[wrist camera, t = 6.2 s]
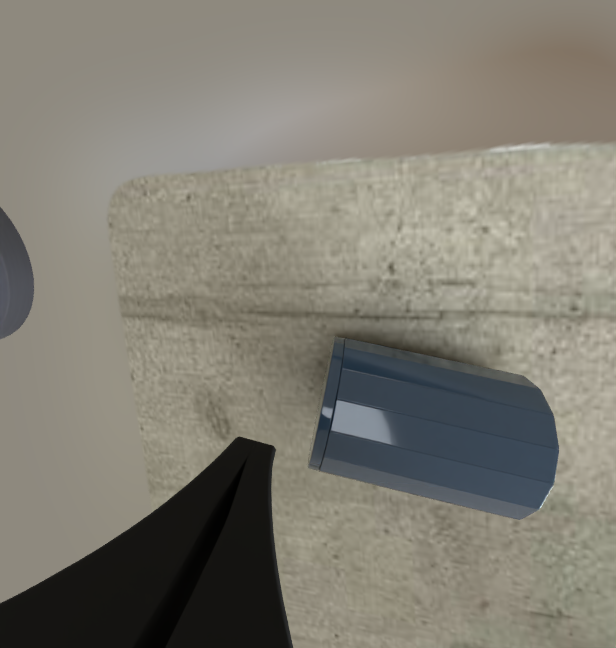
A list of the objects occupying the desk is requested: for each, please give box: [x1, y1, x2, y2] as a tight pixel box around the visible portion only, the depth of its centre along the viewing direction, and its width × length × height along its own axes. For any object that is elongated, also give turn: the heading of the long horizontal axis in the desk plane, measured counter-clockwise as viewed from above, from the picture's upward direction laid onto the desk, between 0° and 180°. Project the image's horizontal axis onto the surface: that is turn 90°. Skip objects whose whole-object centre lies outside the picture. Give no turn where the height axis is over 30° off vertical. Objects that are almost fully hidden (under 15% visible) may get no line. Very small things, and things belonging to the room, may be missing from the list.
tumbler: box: [308, 336, 559, 520], centre depth 15 cm, size 6×6×9 cm
